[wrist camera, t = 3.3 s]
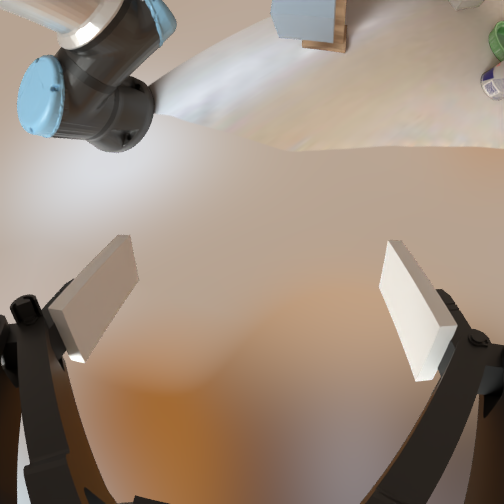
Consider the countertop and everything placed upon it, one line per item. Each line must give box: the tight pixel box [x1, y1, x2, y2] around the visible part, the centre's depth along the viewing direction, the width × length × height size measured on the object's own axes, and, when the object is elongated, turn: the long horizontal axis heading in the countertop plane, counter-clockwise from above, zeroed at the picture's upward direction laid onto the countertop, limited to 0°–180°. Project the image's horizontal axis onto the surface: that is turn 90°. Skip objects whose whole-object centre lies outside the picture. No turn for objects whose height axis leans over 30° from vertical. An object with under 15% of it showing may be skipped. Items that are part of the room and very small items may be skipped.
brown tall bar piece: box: [302, 0, 347, 53], centre depth 30 cm, size 7×9×28 cm
